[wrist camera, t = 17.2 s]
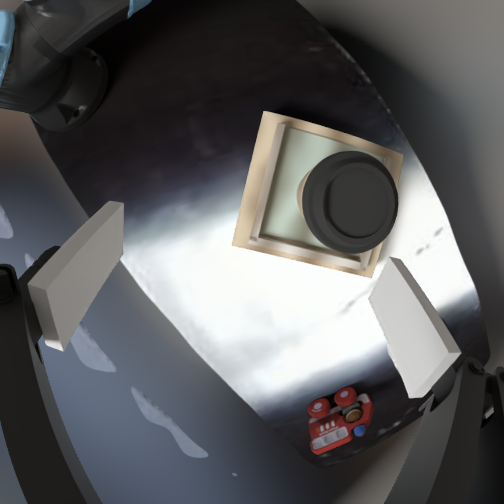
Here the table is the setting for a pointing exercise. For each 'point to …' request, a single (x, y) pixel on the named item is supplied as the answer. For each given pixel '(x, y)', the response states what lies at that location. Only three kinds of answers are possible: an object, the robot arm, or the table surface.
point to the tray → (285, 186)
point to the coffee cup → (348, 201)
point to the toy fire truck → (338, 419)
